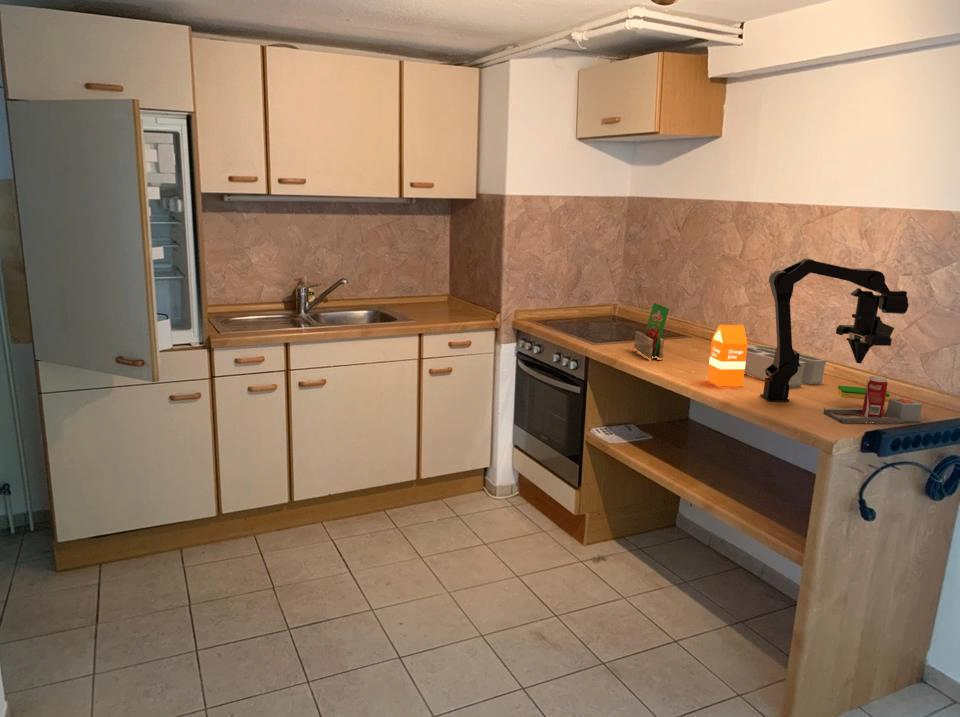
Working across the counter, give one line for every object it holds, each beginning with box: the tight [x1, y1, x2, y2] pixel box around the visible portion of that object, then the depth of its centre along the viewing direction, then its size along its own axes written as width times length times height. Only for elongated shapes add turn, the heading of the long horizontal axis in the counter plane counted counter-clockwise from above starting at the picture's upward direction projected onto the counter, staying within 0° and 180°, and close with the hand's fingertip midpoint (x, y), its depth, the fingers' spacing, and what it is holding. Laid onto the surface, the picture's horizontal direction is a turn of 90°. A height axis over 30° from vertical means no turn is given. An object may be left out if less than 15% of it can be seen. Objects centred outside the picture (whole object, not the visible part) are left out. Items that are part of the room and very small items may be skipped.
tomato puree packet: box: [643, 302, 670, 357], centre depth 283 cm, size 15×1×20 cm, turn 9°
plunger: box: [899, 397, 912, 403], centre depth 213 cm, size 3×3×5 cm
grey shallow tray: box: [823, 408, 904, 424], centre depth 212 cm, size 18×9×2 cm, turn 97°
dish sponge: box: [836, 385, 891, 402], centre depth 237 cm, size 7×14×2 cm, turn 75°
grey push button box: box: [886, 398, 923, 422], centre depth 213 cm, size 6×6×5 cm
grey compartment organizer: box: [744, 344, 827, 389], centre depth 258 cm, size 17×28×9 cm, turn 28°
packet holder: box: [633, 330, 665, 359], centre depth 284 cm, size 5×17×8 cm, turn 7°
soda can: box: [861, 375, 888, 417], centre depth 211 cm, size 5×5×12 cm
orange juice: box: [707, 324, 749, 387], centre depth 244 cm, size 8×9×20 cm
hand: (858, 363), depth 224 cm, fingers closed
